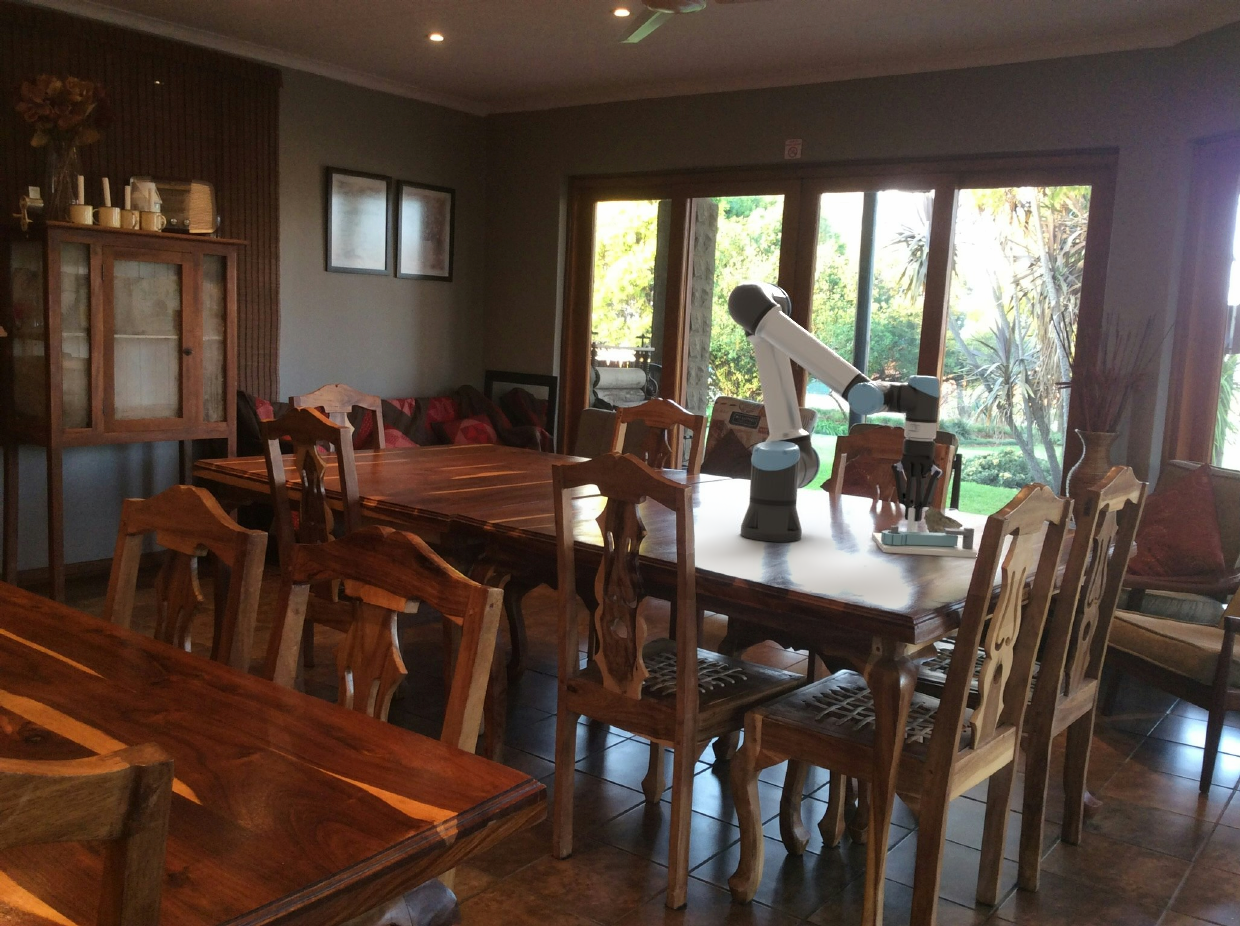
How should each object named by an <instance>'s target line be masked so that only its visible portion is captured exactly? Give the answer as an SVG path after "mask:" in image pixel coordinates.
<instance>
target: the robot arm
mask: <svg viewBox="0 0 1240 926" xmlns="http://www.w3.org/2000/svg"><path fill="white" fill-rule="evenodd" d="M727 310H728V313H729V315H730V317H731V319H732V320H733V321H734V323H736V324H737V325H739V326H740V327H742V328H743V330H744V335H745V339H746V340H747V341H748V342H750V343H751V344H752V347H753V350H754V351H753V352H754V356H755V362H756V363H755V364H756V368H757V373H758V379H759V384H760V389H761V393H762V399H763V405H764V411H765V416H766V421H767V427H768V432H769V436H767V438H766V440H765V441H764V442H759V443H757V444H755V445H754V446H753V448H752V455H751V458H750V461H751V469H750V483H749V484H750V486H749V502H748V503H749V504H748V507H747V509H746V512H745V515H744V518H743V519H742V521H741V522H742V523H741V525H740V535H741V536H742V537H743V538H746V539H751V540H757V541H764V542H776V543H778V542H779V543H786V542H796V541H800V540H802V533H803V532H802V531H803V530H802V529H803V528H802V525H801V522H800V521H801V520H800V517H799V514H798V510H797V497H798V489H802V488H805V487H807V486H808V485H810V483H812V482H813V481H814V480H815V479H816V477H817V476H818V474H819V472H820V469H821V468H820V467H821V459H820V456H819V453H818V452H817V450H816V449H815V448H814V447H813V444H812V440H811V435H810V433H809V432H808V431H806V430H805V429H804V428H803V423H802V419H801V418H802V417H801V412H800V407H799V403H798V402H799V401H798V397H797V391H796V386H795V381H794V375H793V370H792V365H791V360H792V361H794V362H795V363H796V364H797V365H799V366H800V367H802V368H803V369H804V370H805V371H807V373H809V374H810V375H812V376H813V377H814V378H816V379H817V380H818V381H819V382H821V383H822V384H824V385H825V386H826V387H827V388H829V389H830V390H831V391H832V392H834V393H835V394H836V395H838V396H839V397H841V398H842V399H843V400H844V401H845V402H846V403H847V404H848V406H849V408H850V409H851V410H852V411H853V412H854V413H856V414H859V415H861V416H872V415H875V414H879V413H896V414H905V419H904V421H905V422H904V432H903V435H904V437H905V438H904V439H903V443H902V456H901V459H900V461H899V462H897V463H894V464H891V466H890V467H891V470H892V473H893V474H894V481H895V487H896V494H897V495H896V496H897V502H898V504H901V505H903V506H904V507H905V509H904V510H905V511H904V520H905V521H907V522H906V523H907V525H906V532H918V527H919V522H921V521H922V518H923V510H924V508H927V507H928V508H929V506H930V505H931V504H932V501H933V499H934V495H935V492H936V489H937V486H938V483H939V480H940V478H941V477H942V476H943V474H944V472H945V471H944V470H943V469H939V467H938V466H936V462H935V459H934V458H935V451H936V449H935V448H936V442H935V440H934V439H936V438H937V428H938V427H937V425H938V415H939V414H938V413H939V404H940V398H941V394H940V384H941V383H940V380H939V377H937V376H931V375H913V374H912V375H910V376H909V377H908V380H907V382H894V381H893V382H892V381H891V382H890V381H882V380H872V379H870V377H868V376H866V375H865V374H863V372H861V371H860V370H859V369H858V368H856V367H854V366H853V365H852V364H851V363H850V362H848V361H847V360H845V359H844V358H843V357H842V356H840V355H839V354H838V353H836V352H835V351H834V350H833V349H831V348H829V347H828V346H827V345H826V344H824V343H823V342H822V341H820V340H819V339H818V338H816V336H814V335H812V334H811V333H810V332H809V331H808V330H806V329H804V328H803V327H802V326H801V325H799V324H798V323H796V322H795V321H794V320H793V319H791V318H790V316H791V312H792V303H791V300H790V297H789V295H788V294H787V293H786V291H785V290H783V288H781V287H780V286H778V285H776V284H775V283H770V282H761V281H755V280H747V281H743V282H741V283H739V284H738V285H736V286H735V287H734V288H733V289H732V291H731V292H730V295H729V296H728V301H727ZM904 472H905V473H906V474H905V475H906V476H904ZM930 472H931V473H930ZM929 473H930V474H931V476H930V478H929V481H928V484H927V487H926V481H927V478H928V477H927V476H928V475H929ZM905 479H906V483H905ZM931 506H932V505H931Z"/></svg>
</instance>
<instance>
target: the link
mask: <svg viewBox="0 0 1240 926" xmlns="http://www.w3.org/2000/svg"><path fill="white" fill-rule="evenodd" d="M890 531H891V529H890V530H889V529H886V530H882V531H881V533H882V534H881V542H882V543H884V544H890V545H905V544H906V545H933V546H957V542H958V538H959V535H946V534H945V533H929V531H927V532H925V531H924V532H923V531H922V532H921V531H917V532H907V531H900V530H898V534H892V533H890Z"/></svg>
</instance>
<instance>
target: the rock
mask: <svg viewBox="0 0 1240 926" xmlns="http://www.w3.org/2000/svg"><path fill="white" fill-rule="evenodd" d="M923 519H924V521H925V522H924V524H925V525H926V527H927V528H926V529H927V530H928V531H927V532H928V533H944V528H949V529H961V528H963V524H962V523H960V522H959V521H958V520H957V519H954V518H952V517H951V516H948V515H945V514H943V513H942V512H941V511H939V510H937V509H936V508H935V507H933V506H932V505H930V506H928V508H927V509H926V510H925V511H924V516H923Z"/></svg>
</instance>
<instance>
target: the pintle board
mask: <svg viewBox="0 0 1240 926" xmlns="http://www.w3.org/2000/svg"><path fill="white" fill-rule="evenodd" d="M890 530H891V531H890V533H892V534H898V531H899V526H898V525H890ZM871 533H872V534H871V538H872V540H873V541H874V542H875V543H876V545H877V546H878V547H879V548H880V549H881V550H882V552H883V553H890V554H893V553H894V554H907V555H924V556H938V557H939V556H940V557H941V556H942V557H959V558H974V559H975V558H976V555H977V553H979V552H978V551H977V550H976V549H975V548H973V547H974V538H975V537H974V536H975V534H974V533H975V529H974V528H973V527H963V528H962V529H961V528H960V529H949V528H944V533H945V534H946V535H957V536H962V538H961V537H958V542H957V546H933V545H906V544H905V545H890V544H884V543H882V542H881V534H882V532H871Z"/></svg>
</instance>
